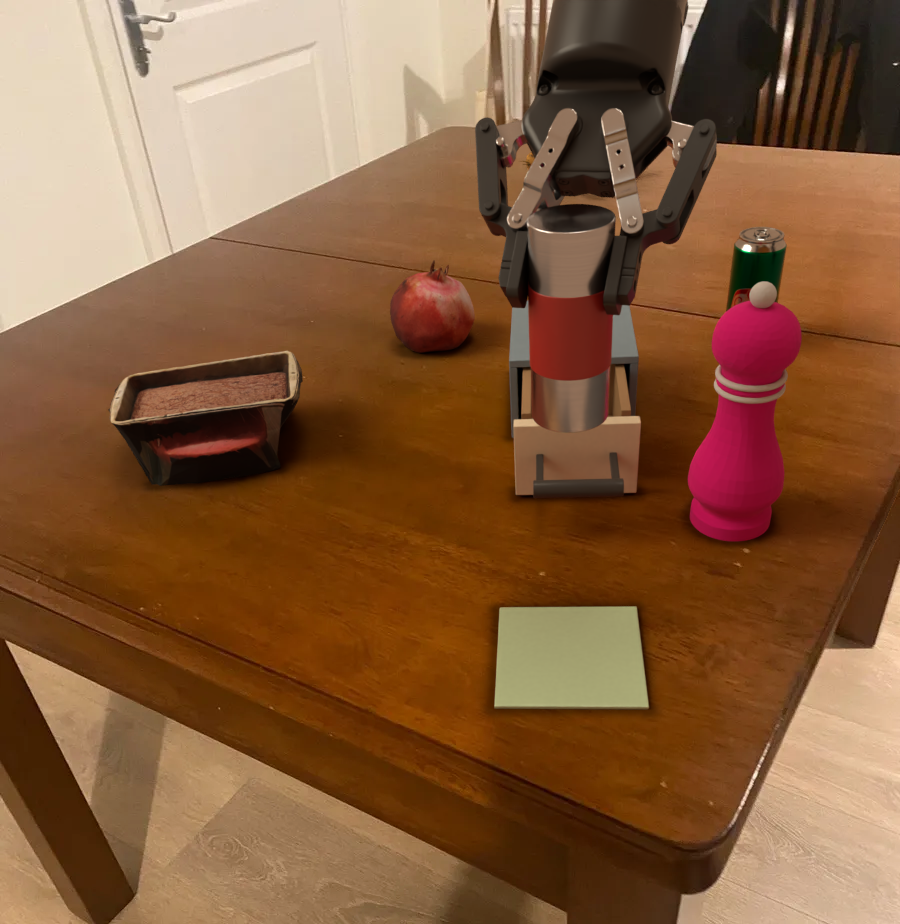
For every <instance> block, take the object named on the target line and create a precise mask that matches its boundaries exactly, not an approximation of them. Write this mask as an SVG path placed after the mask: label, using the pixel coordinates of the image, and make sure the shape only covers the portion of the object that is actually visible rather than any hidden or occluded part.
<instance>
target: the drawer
mask: <svg viewBox="0 0 900 924" xmlns="http://www.w3.org/2000/svg"><path fill="white" fill-rule="evenodd" d="M521 417H522V419H515V420H514V438H513V448H514V449H513V453H514V455H513V456H514V480H515V481H514V483H515V495H516V496H533V497H532V498H533V499H559V498H562V499H563V498H564V499H565V498H604V497H605V498H606V497H607V498H608V497H612V498H613V497H614V498H615V497H624V494H636V493H637V490H638V473H639V459H640V446H641V445H640V444H641V429H642V420H641V416H640V415H635V416H631V406H630V400H629V393H628V387H627V380H626V374H625V367H624V364H610V387H609V414H608V417H607V419H606V420H605V421H604V422H603V423H602V424H601V425H599V426H597V427H595V428H593V429H590V430H587V431H582V432H574V433H563V432H555V431H551V430H547V429H545V428H543V427H541V426H539V425H538V424H537V423H536V422H535V421H534V420H533V418H532V404H531V367H523V381H522V411H521Z"/></svg>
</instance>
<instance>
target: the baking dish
mask: <svg viewBox="0 0 900 924" xmlns="http://www.w3.org/2000/svg"><path fill="white" fill-rule="evenodd" d="M303 381H304V380H303V370H302V367H301V365H300V363H299V361H298V359H297V357H296V356H295V354H294V352H291V351H290V350H283V351H277V352H270V353H262V354H254V355H250V356H244V357H237V358H230V359H223V360H216V361H210V362H203V363H196V364H190V365H184V366H175V367H169V368H163V369H162V368H161V369H156V370H151V371H143V372H138V373H134V374H129V375H128V376H126V377H124V379H122V381H120V383H118V384H117V387H116V388H115V389H114V394H113V398H112V399H111V400H110V401H111V402H110V406H109V408H108V409H107V411H108V412H109V417H108V418H109V421H110V423H111V424H112V425H113V426H114V427H115V428H116V430H117V431H118V433H119V434H120V435H121V436H122V438H123V439H124V441H125V443H126V445H127V446H128V447H129V449H130V451H131V453H132V454H133V456H134V457H135V459H136V461H137V462H138V464H139V466H140V467H141V469H142V471H143V472H144V474H145V476H146V478H147V479H148V481H149V483H150V484H151V486H153V485H158V486H159V487H161V486H170V485H171V486H174V485H188V484H202V483H207V482H214V481H220V480H227V479H234V478H240V477H241V478H242V477H247V476H252V475H253V476H254V475H259V474H264V473H269V472H272V471H275V470H278V469H280V468H281V462H280V460H279V456H278V451H279V444H280V443H279V442H280V432H281V428H282V427H283V425H284V424H285V423H286V421H287V420H288V418H290V416H291V415H292V413H293V412H294V410H295V408H296V406H297V404H298V401H299V399H300V398H301V397H300V396H301V386H302V383H303Z"/></svg>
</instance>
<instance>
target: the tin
mask: <svg viewBox="0 0 900 924" xmlns="http://www.w3.org/2000/svg"><path fill="white" fill-rule="evenodd" d="M616 220H617V216H616V214H615V213H614V211H613V210H611V209H609V208H607V207H604V206H600V205H596V204H588V203H568V204H560V205H558V206H552V207H548V208H545V209H542V210H539V211H537V212H535V213H533V214H532V215H531V216H529V218H528V220H527V235H528V277H529V281H528V299H527V301H528V314H529V355H530V366H531V404H532V418H533V420H534V421H535V422H536V423H537V424H538V425H539V426H541V427H543V428H545V429H547V430H551V431H555V432H563V433H574V432H582V431H587V430H590V429H593V428H595V427H597V426H599V425H601V424H602V423H603V422H604V421H605V420H606V419H607V417H608V414H609V387H610V364H611V356H612V329H613V315H607V314H606V311H605V308H604V304H603V298H604V291H605V285H606V280H607V275H608V269H609V264H610V258H611V253H612V247H613V242H614V236H616V224H617V223H616V222H617V221H616Z"/></svg>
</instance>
